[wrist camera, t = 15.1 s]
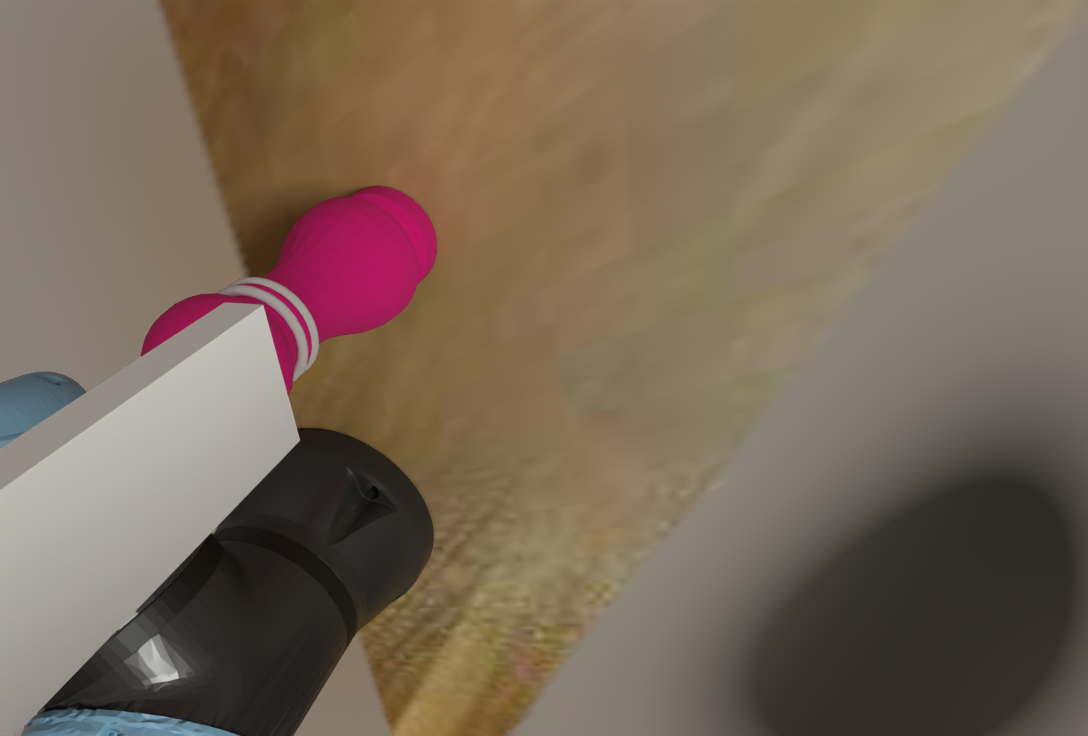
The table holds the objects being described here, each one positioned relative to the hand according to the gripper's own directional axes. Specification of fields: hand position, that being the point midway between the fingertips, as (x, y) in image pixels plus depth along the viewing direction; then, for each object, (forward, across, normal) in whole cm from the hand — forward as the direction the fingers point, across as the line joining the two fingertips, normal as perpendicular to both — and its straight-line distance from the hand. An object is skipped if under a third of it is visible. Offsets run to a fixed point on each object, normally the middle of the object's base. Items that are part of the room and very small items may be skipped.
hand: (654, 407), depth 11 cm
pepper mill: (+29, -20, -8) cm, 36 cm away
